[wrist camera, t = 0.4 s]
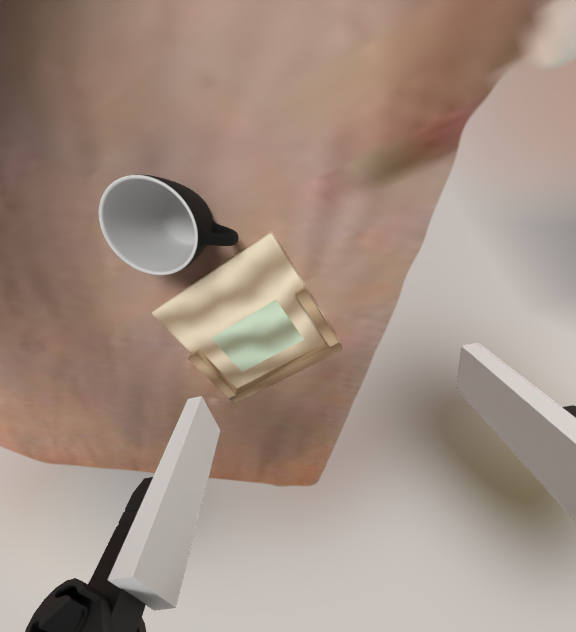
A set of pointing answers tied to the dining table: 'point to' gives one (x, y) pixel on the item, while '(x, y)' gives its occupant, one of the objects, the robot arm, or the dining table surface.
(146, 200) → the mug
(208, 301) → the board
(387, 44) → the dining table surface
